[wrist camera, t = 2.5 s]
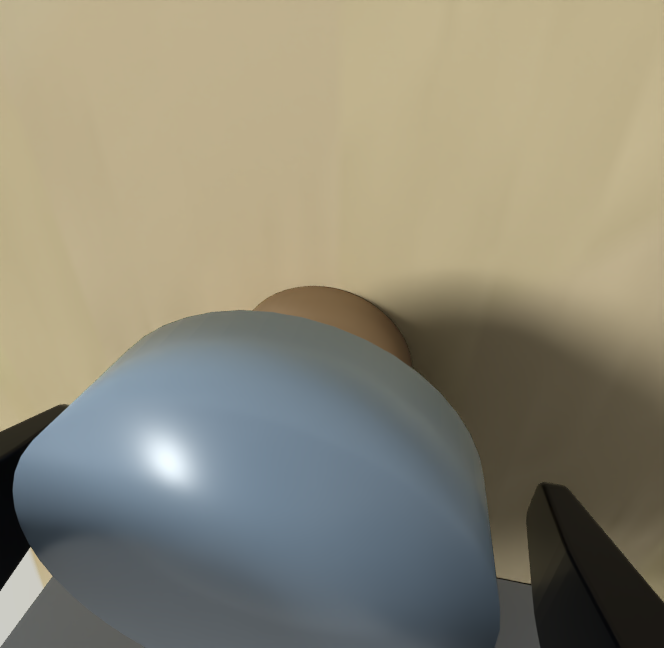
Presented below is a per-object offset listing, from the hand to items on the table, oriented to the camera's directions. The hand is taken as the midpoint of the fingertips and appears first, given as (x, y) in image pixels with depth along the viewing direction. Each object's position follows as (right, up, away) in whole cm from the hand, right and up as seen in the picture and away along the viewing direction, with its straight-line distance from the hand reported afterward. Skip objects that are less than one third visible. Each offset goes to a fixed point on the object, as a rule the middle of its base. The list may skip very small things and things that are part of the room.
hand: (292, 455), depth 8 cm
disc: (0, 0, 0) cm, 1 cm away
